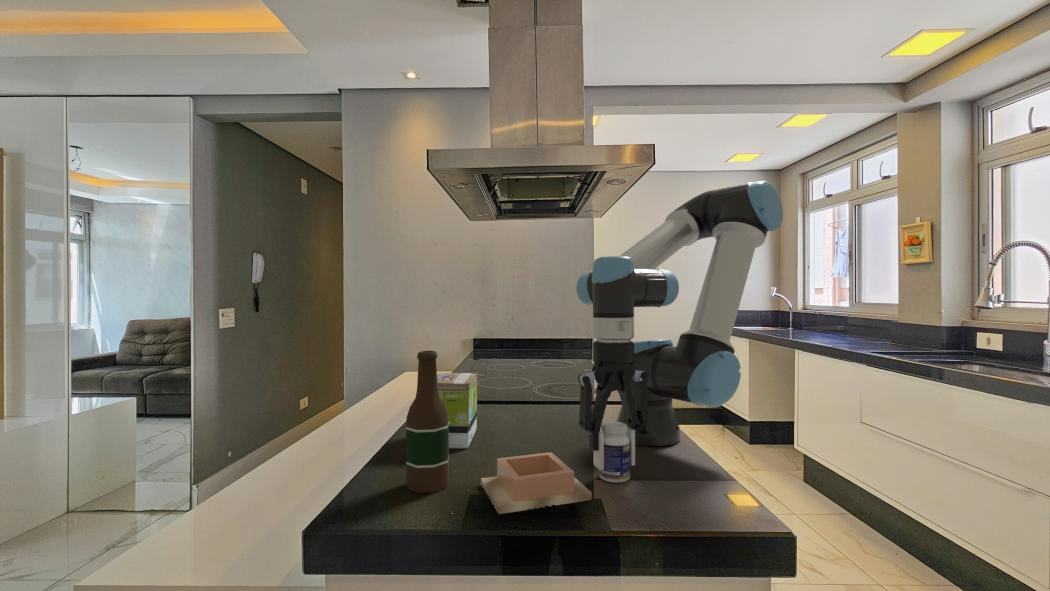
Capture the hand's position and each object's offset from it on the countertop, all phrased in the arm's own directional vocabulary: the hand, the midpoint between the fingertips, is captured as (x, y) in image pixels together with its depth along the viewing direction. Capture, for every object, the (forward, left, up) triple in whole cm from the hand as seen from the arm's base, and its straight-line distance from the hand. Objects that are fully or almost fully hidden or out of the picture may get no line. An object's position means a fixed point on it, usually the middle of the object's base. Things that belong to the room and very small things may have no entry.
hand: (614, 464), depth 88 cm
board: (+16, +1, -2) cm, 16 cm away
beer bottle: (+33, -8, -3) cm, 34 cm away
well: (+16, +1, -1) cm, 16 cm away
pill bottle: (0, 0, -3) cm, 3 cm away
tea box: (+24, -34, -3) cm, 42 cm away
